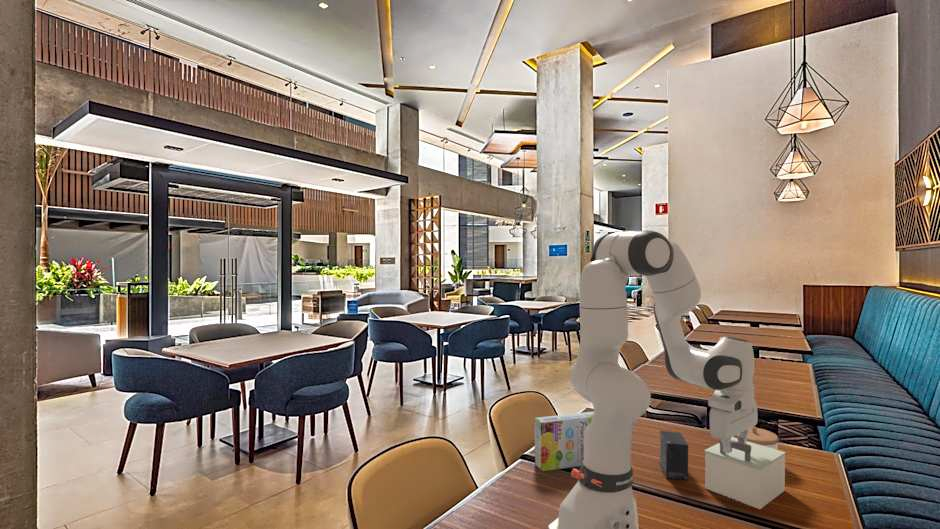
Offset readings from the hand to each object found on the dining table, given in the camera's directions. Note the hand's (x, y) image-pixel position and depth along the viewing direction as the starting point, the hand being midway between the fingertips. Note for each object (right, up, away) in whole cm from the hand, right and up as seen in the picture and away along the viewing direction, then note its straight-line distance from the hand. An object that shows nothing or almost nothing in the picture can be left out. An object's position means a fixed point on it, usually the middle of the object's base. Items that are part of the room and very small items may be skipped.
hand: (734, 448), depth 128 cm
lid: (+5, -3, +4) cm, 7 cm away
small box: (-10, -13, +15) cm, 22 cm away
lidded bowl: (+18, -13, +21) cm, 31 cm away
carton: (+5, -13, +4) cm, 14 cm away
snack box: (-40, -13, +21) cm, 47 cm away
